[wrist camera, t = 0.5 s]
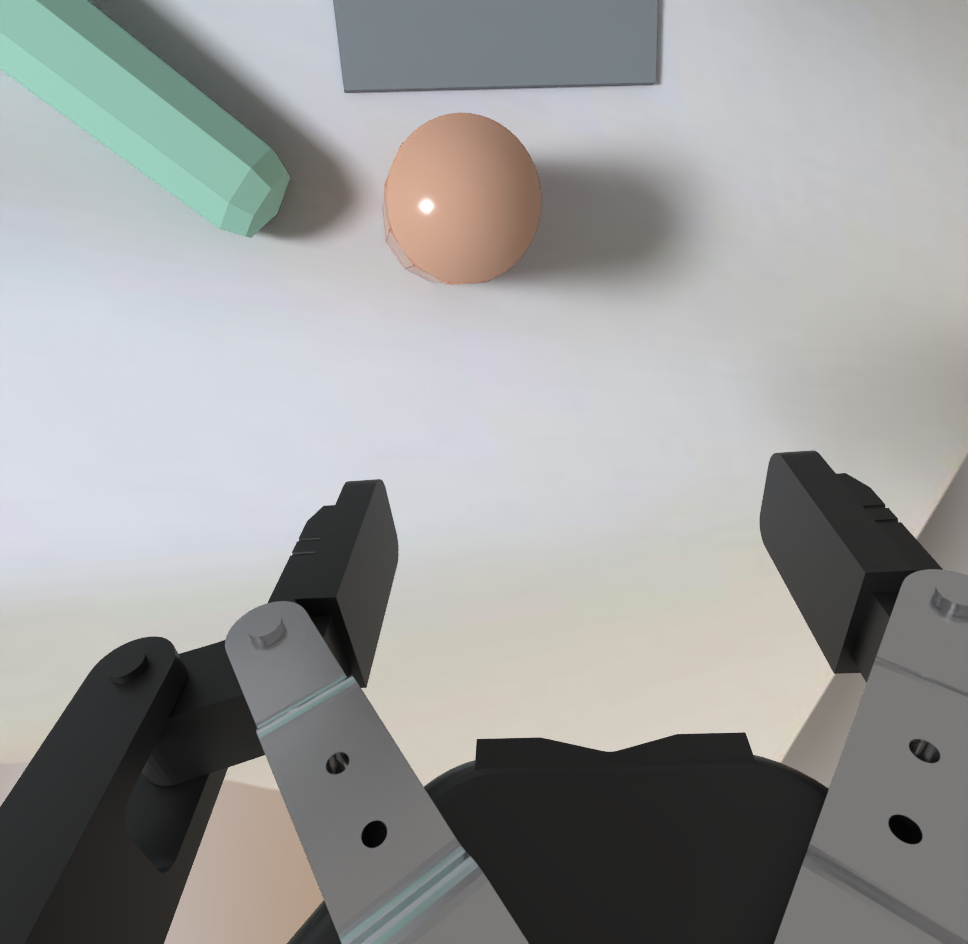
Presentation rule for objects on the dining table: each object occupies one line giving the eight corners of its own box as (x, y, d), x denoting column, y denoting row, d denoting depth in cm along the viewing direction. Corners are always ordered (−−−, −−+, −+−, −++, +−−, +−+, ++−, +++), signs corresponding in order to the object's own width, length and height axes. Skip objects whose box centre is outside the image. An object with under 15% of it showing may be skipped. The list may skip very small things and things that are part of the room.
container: (284, 175, 27) (-440, -399, 18) (229, 276, 30) (-417, -179, 21) (322, 153, 31) (-239, -310, 23) (271, 242, 34) (-243, -140, 26)
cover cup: (391, 285, 34) (395, 288, 25) (377, 161, 32) (377, 115, 23) (499, 277, 35) (543, 278, 26) (493, 157, 33) (538, 110, 24)
